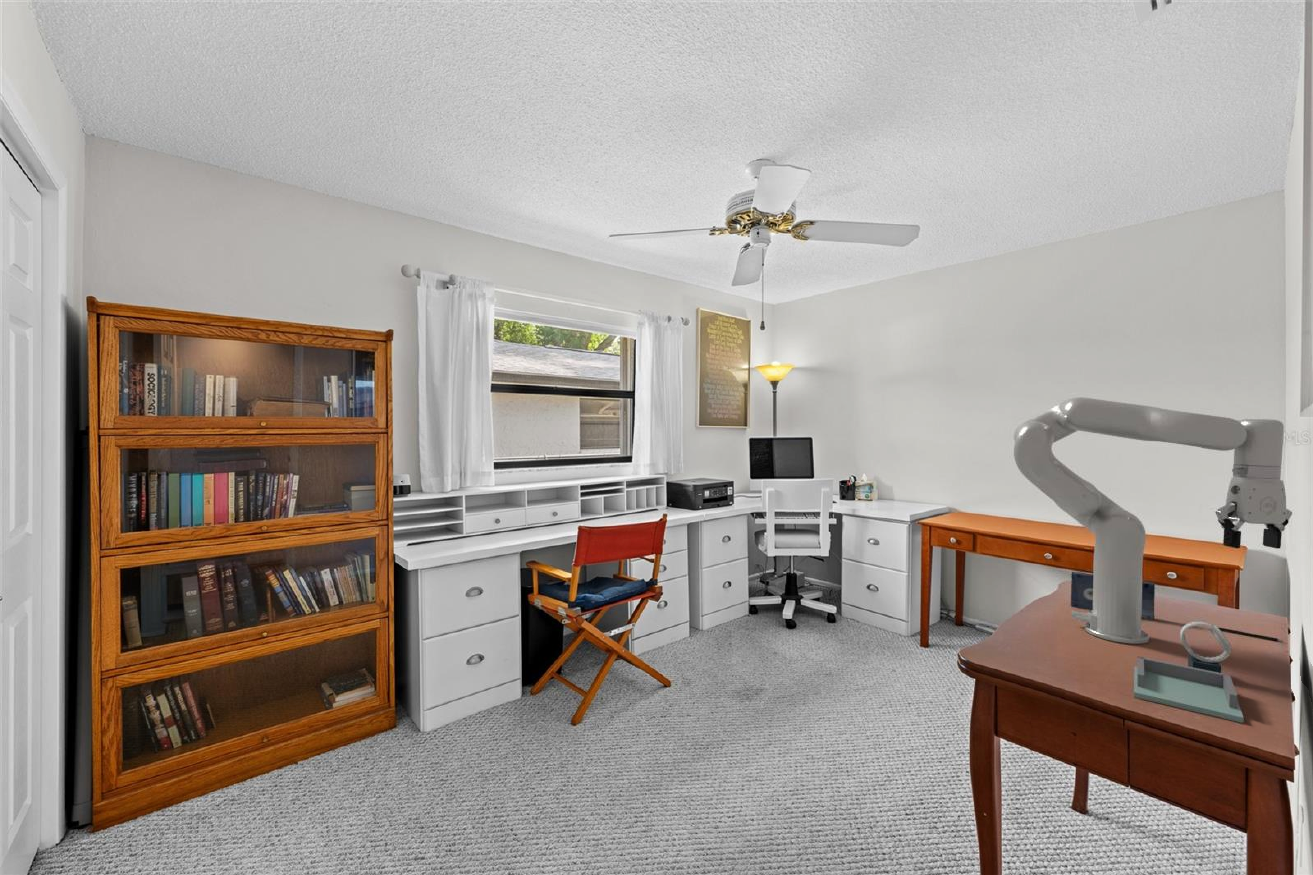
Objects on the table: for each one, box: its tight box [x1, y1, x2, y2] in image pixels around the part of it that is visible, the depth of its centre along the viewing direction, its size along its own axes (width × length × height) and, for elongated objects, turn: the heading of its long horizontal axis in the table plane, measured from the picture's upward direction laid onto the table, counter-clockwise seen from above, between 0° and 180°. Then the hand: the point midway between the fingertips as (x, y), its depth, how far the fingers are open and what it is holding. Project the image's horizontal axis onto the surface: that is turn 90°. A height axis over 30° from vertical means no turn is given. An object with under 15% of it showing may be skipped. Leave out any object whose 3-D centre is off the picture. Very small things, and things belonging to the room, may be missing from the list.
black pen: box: [1218, 626, 1284, 644], centre depth 142 cm, size 12×1×1 cm, turn 42°
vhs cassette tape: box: [1070, 570, 1156, 621], centre depth 159 cm, size 18×3×10 cm, turn 49°
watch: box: [1179, 620, 1233, 673], centre depth 121 cm, size 6×8×11 cm
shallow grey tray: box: [1133, 656, 1245, 724], centre depth 112 cm, size 15×15×4 cm
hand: (1251, 547), depth 130 cm, fingers open, 9 cm apart
